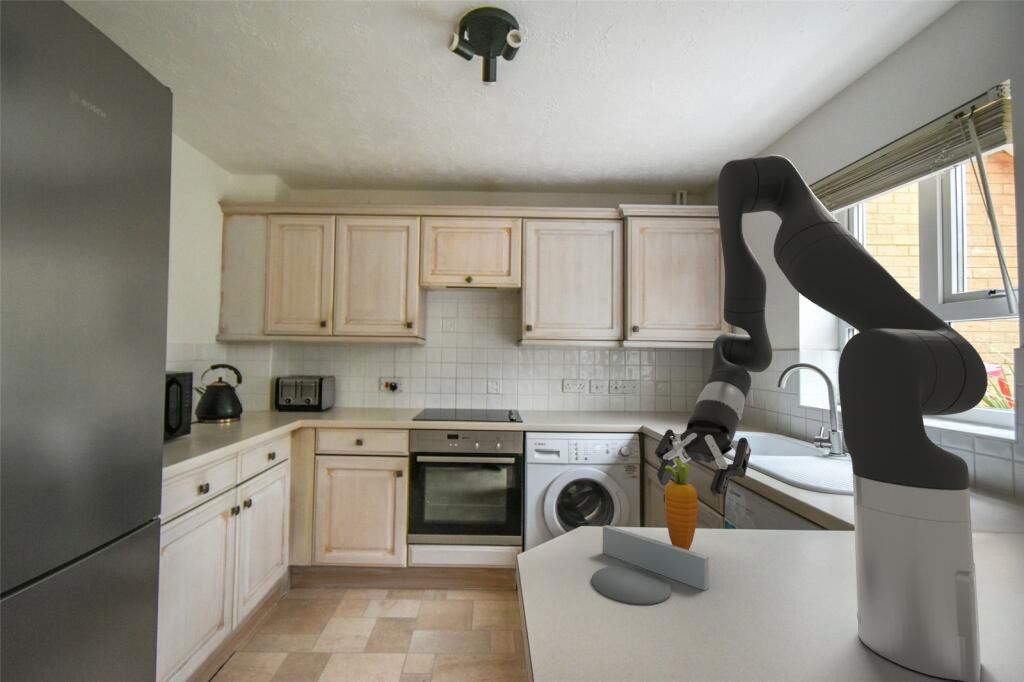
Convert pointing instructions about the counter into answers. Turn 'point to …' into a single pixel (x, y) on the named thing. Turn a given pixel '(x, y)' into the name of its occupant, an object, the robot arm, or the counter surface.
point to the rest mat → (631, 585)
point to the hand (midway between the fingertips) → (687, 488)
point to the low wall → (657, 557)
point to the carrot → (680, 507)
